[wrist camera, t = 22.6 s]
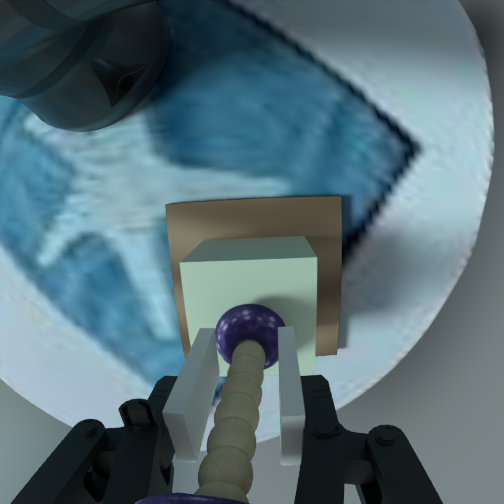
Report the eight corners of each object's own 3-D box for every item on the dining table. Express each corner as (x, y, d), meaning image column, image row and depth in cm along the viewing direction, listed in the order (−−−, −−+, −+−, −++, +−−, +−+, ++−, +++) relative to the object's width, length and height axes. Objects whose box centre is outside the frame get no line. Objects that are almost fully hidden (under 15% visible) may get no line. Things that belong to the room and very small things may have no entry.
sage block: (203, 240, 25) (179, 262, 18) (304, 235, 25) (317, 257, 18) (212, 330, 27) (195, 375, 20) (304, 328, 26) (314, 373, 20)
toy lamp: (195, 341, 18) (80, 615, 2) (230, 278, 17) (100, 629, 1) (264, 375, 19) (247, 653, 2) (305, 318, 18) (363, 646, 1)
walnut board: (169, 203, 26) (165, 204, 25) (338, 195, 25) (341, 196, 24) (187, 352, 29) (184, 357, 28) (334, 349, 28) (336, 354, 27)
